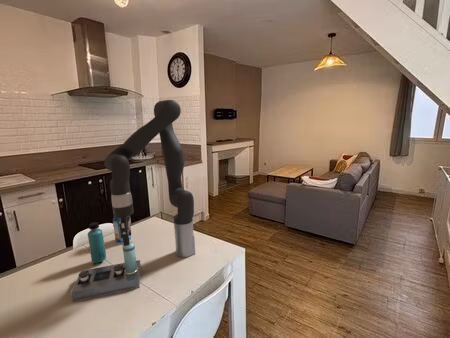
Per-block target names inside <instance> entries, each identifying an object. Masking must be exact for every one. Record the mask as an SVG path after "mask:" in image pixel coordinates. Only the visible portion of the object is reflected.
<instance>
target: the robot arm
mask: <svg viewBox="0 0 450 338" xmlns="http://www.w3.org/2000/svg"><path fill="white" fill-rule="evenodd" d="M181 112H182V110H181V106H180V104H179V103H178V102H177V101H176V100H173V99H165V100H159V101H157V102H156V103H155V105H154V107H153V114H154V117H153V118H152V119H151V120H150V121H148V122H147V123H145V124H144V125H142V126H140V127H139V128H138V129H136V130H135V131H134V132H133V133H132V134H131V135H130V136H129V137H128V138H127V139H126V140H125V141H124V142H123V143H122V144H121V145H119V146H118V147H116V148H115V149H114V150H112V151H111V152H110V153H109V154H108V155H107V156H106V157H105V160H104V167H105V168H106V169H107V170H108V171H110V172H111V180H110V182H109V188H110V193H111V205H112V214H113V213H114V214H113V217H114V216H115V217H117V218H120V221H119V226H120V233H121V238H123V244H124V246H128V245H130V242H129V236H131V237H132V230H131V229H132V228H131V225H132V221H131V215H133V214H134V212H135V211H134V205H133V195H132V193H131V186H130V175H131V170H130V169H131V167H130V162H129V160H130V159H131V158H133V157H136V156H138V155H140V153H141V152H142V151H143V150H144V149H145V148H146V147H147V146H148V145H149V144H150V143H151V141H153V139H155V138H156V137H157V136H158V135H159V138H160V139H159V140H160V144H161V150H162V157H163V163H164V166H165V167H164V168H165V172H166V173H165V174H166V178H167V186H168V199H169V203H170V204H171V205H172V206H173V207H175V208H176V209H177V214H175V215H174V217H173V227H174V239H175V252H176V253H175V254H176V256H177V257H180V258H188V257H191V256H192V255H196V243H195V241H196V240H195V239H196V238H195V235H194V222H193V221H194V219H193V217H194V215H195V199H194V195H193V194H192V191H191V192H190V191H188V190H187V189H186V190H185V189H184V187H183V183H182V174H183V171H184V167H185V157H184V151H183V147H182V144H181V143H180V141H179V140H178V139H179V138H177V135H176V134H175V133H176V132H175V130H174V127H173V126H174V125H173V123H174V122H175V121H176V120H178V119H179V118H180V115H181ZM123 232H125V234H123ZM123 244H122V245H123Z"/></svg>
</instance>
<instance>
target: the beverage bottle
mask: <svg viewBox="0 0 450 338" xmlns="http://www.w3.org/2000/svg"><path fill="white" fill-rule="evenodd" d="M99 227H100V226H99V222H91V223H90V224H88V229H89V231H88V233H87V238H88V245H89V250H90V251H89V254H90V257H91V258H90V259H91V262H92V263H93V264H94V263H95V264H97V263H100V262H101V263H102V262H104V260H106V259H107V254H106V253H107V252H106V248H105V240H104V239H105V238H104V235H103V230H102V229H100V228H99Z"/></svg>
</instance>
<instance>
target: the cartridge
mask: <svg viewBox="0 0 450 338" xmlns="http://www.w3.org/2000/svg"><path fill="white" fill-rule="evenodd" d="M129 242H130V245H128V246H124V244H121V246H122V253H123V261H124V262H123V263H125V271H126V273H133V272H135V271H136V270H137V263H136V261H137V257H136V256H137V255H136V254H137V253H136V247H135V242H134V241H131V240H130V241H129Z"/></svg>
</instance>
